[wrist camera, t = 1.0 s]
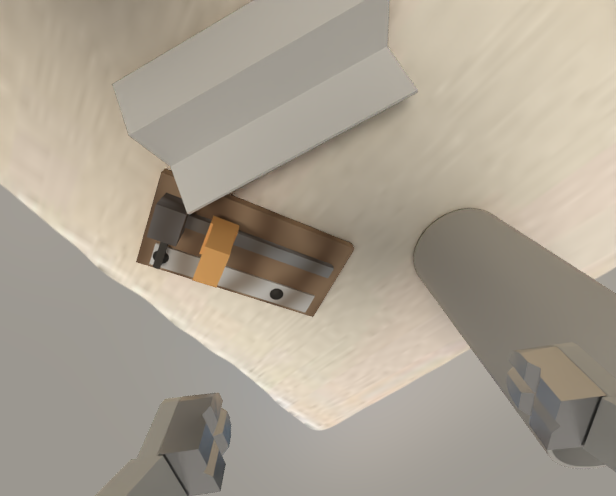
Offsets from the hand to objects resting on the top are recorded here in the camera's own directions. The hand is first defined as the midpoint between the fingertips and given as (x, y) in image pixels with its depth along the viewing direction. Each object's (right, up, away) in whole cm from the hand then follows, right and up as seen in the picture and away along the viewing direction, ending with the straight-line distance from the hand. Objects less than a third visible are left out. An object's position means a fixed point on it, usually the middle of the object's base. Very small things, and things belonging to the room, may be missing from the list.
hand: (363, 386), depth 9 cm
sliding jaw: (-13, +4, +29) cm, 32 cm away
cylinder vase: (+19, +4, +35) cm, 40 cm away
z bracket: (-6, +20, +23) cm, 31 cm away
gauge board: (-9, +4, +32) cm, 34 cm away
